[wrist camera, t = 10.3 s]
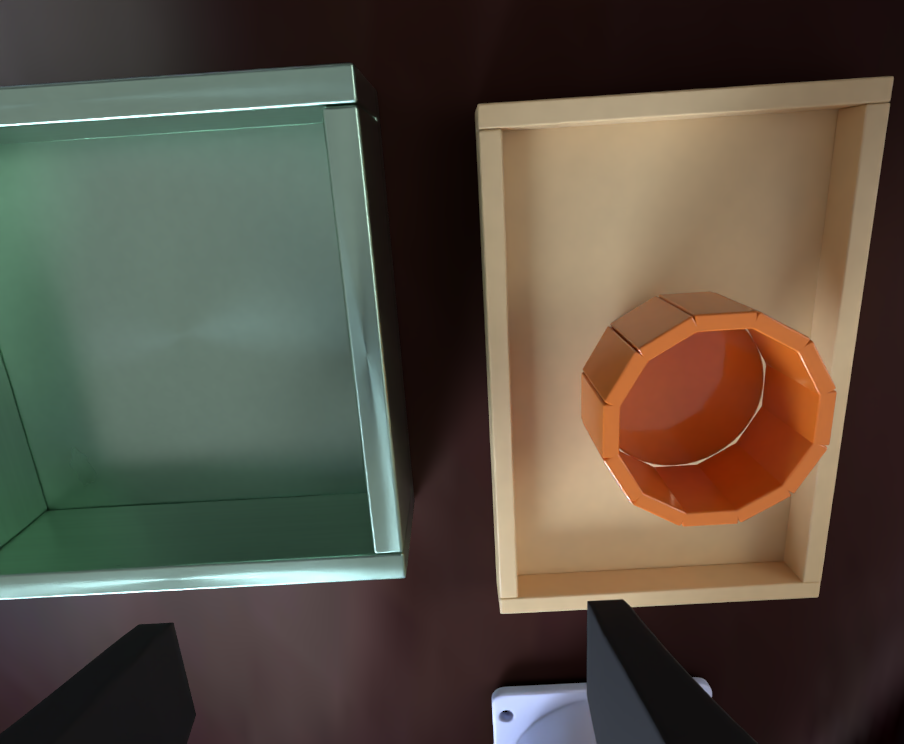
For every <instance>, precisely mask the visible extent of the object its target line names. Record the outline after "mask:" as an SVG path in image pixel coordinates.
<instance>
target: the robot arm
mask: <svg viewBox="0 0 904 744" xmlns="http://www.w3.org/2000/svg"><path fill="white" fill-rule="evenodd" d="M505 710H508V711H509V712H502V711H505ZM492 715H493V733H494V744H758V743H757V742H756V741H755V740H754V739H753V738H752V737H751V736H750V735H749V734H748V733H747V732H746V731H745V730H744V729H743V728H742V727H741V726H739V725H738V724H737V723H736V722H735V721H734V720H733V719H732V718H731V717H730V716H729V715H728V714H727V713H726V712H725V711H724V710H723V709H722V708H721V707H720V706H719V705H718V704H717V703H716V702H715V701H714V700H713V699H712V690H711V688H710V686H709V684H708V682H707V681H706V680H705V679H703V678H699V677H692V676H691V675H690V674H689V673H688V672H687V671H686V670H685V669H684V668H683V667H682V666H681V665H680V664H679V662H678V661H677V660H676V659H675V658H674V657H673V656H672V655H671V653H670V652H669V651H668V650H667V649H666V648H665V647H664V646H663V644H662V643H661V642H660V641H659V640H658V639H657V637H656V636H655V635H654V634H653V633H652V632H651V630H650V629H649V628H648V627H647V626H646V625H645V623H644V622H643V621H642V620H641V619H640V617H639V616H638V615H637V614H636V612H635V611H634V610H633V609H632V608H631V606H630V605H629V604H628V603H627V602H626V601H624V600H623V599H617V600H597V601H587V683H569V684H549V685H529V686H509V687H501V688H498V689H497V690H495V691H494V693H493V694H492ZM195 716H196V713H195V709H194V705H193V701H192V697H191V693H190V689H189V684H188V680H187V676H186V672H185V668H184V664H183V660H182V656H181V652H180V648H179V644H178V640H177V635H176V631H175V627H174V623H159V624H140V625H138V626H136V627H135V628H134V629H132V630H131V631H130V632H128V633H127V634H125V635H124V636H123V637H122V638H120V639H119V640H118V641H116V642H115V643H114V644H113V645H111V646H110V647H109V648H108V649H106V650H105V651H104V652H103V653H101V654H100V655H99V656H98V657H96V658H95V659H94V660H93V661H91V662H90V663H89V664H88V665H86V666H85V667H84V668H83V669H81V670H80V671H79V672H78V673H77V674H75V675H74V676H73V677H72V678H70V679H69V680H68V681H67V682H65V683H64V684H63V685H62V686H60V687H59V688H58V689H57V690H55V691H54V692H53V693H52V694H50V695H49V696H48V697H47V698H45V699H44V700H43V701H42V702H40V703H39V704H38V705H37V706H35V707H34V708H33V709H32V710H30V711H29V712H28V713H27V714H25V715H24V716H23V717H22V718H20V719H19V720H18V721H17V722H15V723H14V724H13V725H11V726H10V727H9V728H7V729H6V730H5V731H3V732H2V733H1V734H0V744H187V741H188V738H189V735H190V732H191V729H192V725H193V722H194V719H195Z"/></svg>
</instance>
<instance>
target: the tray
mask: <svg viewBox="0 0 904 744" xmlns="http://www.w3.org/2000/svg"><path fill="white" fill-rule="evenodd" d="M893 80H894V77H893V76H881V77H867V78H852V79H837V80H822V81H807V82H793V83H778V84H763V85H748V86H733V87H719V88H704V89H689V90H674V91H660V92H645V93H630V94H615V95H600V96H586V97H571V98H556V99H541V100H526V101H512V102H497V103H482V104H478V105H477V108H476V111H475V129H476V150H477V172H478V193H479V214H480V236H481V257H482V278H483V300H484V321H485V342H486V363H487V385H488V406H489V427H490V449H491V470H492V491H493V513H494V534H495V555H496V577H497V588H498V597H499V606H500V612H501V614H509V613H528V612H547V611H566V610H585V609H587V601H597V600H617V599H623V600H624V601H626V602H627V603H628V604H629V605H630V606H631V607H643V606H662V605H681V604H700V603H719V602H739V601H758V600H777V599H796V598H815V597H818V596H819V590H820V581H821V577H822V570H823V563H824V556H825V549H826V542H827V535H828V529H829V522H830V515H831V508H832V501H833V494H834V487H835V480H836V474H837V467H838V460H839V453H840V446H841V439H842V432H843V425H844V419H845V412H846V405H847V398H848V391H849V384H850V377H851V370H852V364H853V357H854V350H855V343H856V336H857V329H858V322H859V315H860V309H861V302H862V295H863V288H864V281H865V274H866V267H867V260H868V253H869V247H870V240H871V233H872V226H873V219H874V212H875V205H876V198H877V192H878V185H879V178H880V171H881V164H882V157H883V150H884V143H885V137H886V130H887V123H888V116H889V109H890V103H888V102H889V101H890V100H891V94H892V87H893ZM708 291H710V292H713V293H714V292H715V293H718V294H720V295H723V296H725V297H727V298H730V299H732V300H734V301H737V302H739V303H741V304H744V305H746V306H748V307H751V308H753V309H756V310H758V311H760V312H762V313H764V314H766V315H768V316H770V317H772V318H774V319H776V320H777V321H779V322H781V323H783V324H785V325H787V326H789V327H791V328H793V329H794V330H796V331H798V332H800V333H802V334H804V335H806V336H808V337H809V338H810V340H812V341H813V342H814V344H815V346H816V348H817V350H818V352H819V354H820V356H821V358H822V360H823V362H824V364H825V366H826V368H827V370H828V372H829V374H830V376H831V378H832V380H833V382H834V384H835V386H836V389H835V391H836V392H837V394H836V402H835V409H834V416H833V423H832V430H831V438H830V444H829V445H825V446H826V447H827V448H828V449H827V450H826V452H825V453H824V454H823V456H822V457H821V458H820V460H819V461H818V462H817V464H816V465H815V466H814V468H813V469H812V470H811V472H810V473H809V474H808V476H807V477H806V478H805V480H804V481H803V482H802V484H801V485H800V486H799V488H798V489H797V490H796V492H795V493H791V492H790V494H791V496H790V497H788V498H787V499H785V500H783V501H781V502H779V503H777V504H775V505H773V506H772V507H770V508H768V509H766V510H764V511H762V512H760V513H758V514H756V515H755V516H753V517H751V518H749V519H747V520H745V521H743V522H739V521H738V523H737V524H723V525H705V526H687V527H684V526H682V525H680V526H678V525H676V524H674V523H672V522H669V521H667V520H665V519H663V518H661V517H659V516H656V515H654V514H652V513H650V512H648V511H646V510H643V509H641V508H639V507H637V506H635V505H633V504H632V502H630V501H629V500H628V499H627V497H626V495H625V494H624V492H623V491H622V489H621V488H620V486H619V485H618V483H617V482H616V480H615V478H614V477H613V475H612V474H611V472H610V471H609V469H608V468H607V466H606V465H605V463H604V461H603V460H602V458H601V456H600V454H599V452H598V450H597V448H596V447H595V445H594V443H593V441H592V439H591V437H590V436H589V434H588V432H587V430H586V428H585V426H584V424H583V422H582V421H583V420H582V419H581V374H582V372H584V371H583V367H584V366H585V364H586V362H587V361H588V359H589V357H590V356H591V354H592V352H593V350H594V349H595V347H596V345H597V344H598V342H599V340H600V339H601V337H602V335H603V333H604V332H605V330H606V328H607V327H608V326H610V327H611V323H612V322H614V321H615V320H617V319H619V318H620V317H622V316H623V315H625V314H627V313H628V312H630V311H632V310H633V309H635V308H636V307H638V306H640V305H641V304H643V303H645V302H646V301H648V300H649V299H651V298H653V297H654V296H657V297H658V296H659V295H660V294H676V293H692V292H708ZM746 330H747V332H748V333H749V331H748V329H746ZM749 334H750V333H749ZM750 335H751V334H750ZM751 337H752V336H751ZM759 352H760V351H759ZM760 355H761V353H760ZM761 359H762V363H763V371H764V379H765V369H766V363H765V361H764V359H763V357H762V355H761ZM763 389H764V384H763ZM762 399H763V390H762V396H761V399H760V402H759V405H758V407H757V410H756V412H755V414H754V416H755V415H756V414H757V412H758V411H759V409H760V408H761V406H762ZM754 416H753V418H754ZM753 418H752V419H753ZM752 419H751V421H752ZM751 421H750V422H751ZM750 422H749V424H750ZM749 424H748V425H749ZM748 425H747V426H748ZM746 428H747V427H746ZM746 428H745V429H746ZM745 429H744V430H743V432H744V431H745ZM743 432H742V433H741V434H740V435H739V436H738V437H737V438H736V439H735V440H734V441H733V442H731V443H730V444H729V445H728V446H726V447H725V448H724V449H726V448H728V447H729V446H731V445H733V444H735V443H736V442H737V441H738V439H739V438H740V437H741V435H742V434H743ZM724 449H722V450H724ZM722 450H720V451H722ZM619 451H621V452H623V451H622V450H620V449H619ZM720 451H719V452H720ZM719 452H717V453H719ZM623 453H624V452H623ZM717 453H716V454H717ZM625 454H626V453H625ZM627 455H628V454H627ZM714 455H715V454H714ZM711 456H713V455H711ZM711 456H709V457H707V458H705V459H702V460H699V461H697V462H693V463H688V464H683V465H697V464H699V463H701V462H702V461H704V460H706V459H708V458H710V457H711ZM642 462H643V461H642ZM644 463H646V464H649V465H651V466H653V467H663V466H680V465H657V464H651V463H647V462H644Z"/></svg>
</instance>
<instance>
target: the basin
mask: <svg viewBox="0 0 904 744" xmlns="http://www.w3.org/2000/svg"><path fill="white" fill-rule="evenodd" d="M414 502H415V500H414V489H413V478H412V467H411V456H410V445H409V434H408V423H407V412H406V401H405V390H404V379H403V368H402V358H401V347H400V336H399V325H398V314H397V303H396V292H395V281H394V270H393V259H392V248H391V237H390V226H389V215H388V204H387V193H386V182H385V171H384V160H383V149H382V139H381V128H380V117H379V106H378V95H377V91H376V89H375V88H374V87H373V86H372V85H371V84H370V83H369V81H368V80H367V79H366V78H365V77H364V75H363V74H362V73H361V72H360V71H359V69H358V68H357V67H356V66H355V65H354V64H353V63H351V62H346V63H331V64H317V65H303V66H288V67H274V68H259V69H245V70H230V71H216V72H201V73H187V74H172V75H158V76H143V77H129V78H115V79H100V80H86V81H71V82H57V83H42V84H28V85H13V86H0V600H6V599H25V598H44V597H62V596H81V595H100V594H118V593H137V592H156V591H175V590H193V589H212V588H231V587H250V586H268V585H287V584H306V583H324V582H343V581H362V580H381V579H399V578H405V577H406V571H407V563H408V554H409V545H410V537H411V528H412V519H413V511H414V510H413V509H414Z"/></svg>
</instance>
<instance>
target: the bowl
mask: <svg viewBox="0 0 904 744" xmlns="http://www.w3.org/2000/svg"><path fill="white" fill-rule="evenodd" d="M746 329H748V331H749V333H750V334H751V335H750V334H749V333H748V332H747V330H746ZM751 336H752V337H751ZM759 351H760V352H759ZM760 353H761V355H762V357H763V359H764V361H765V363H766V369H765V379H764V371H763V363H762V359H761V355H760ZM583 371H584V372H582V374H581V419H582V420H583V421H582V422H583V424H584V426H585V428H586V430H587V432H588V434H589V436H590V437H591V439H592V441H593V443H594V445H595V447H596V448H597V450H598V452H599V454H600V456H601V458H602V460H603V461H604V463H605V465H606V466H607V468H608V469H609V471H610V472H611V474H612V475H613V477H614V478H615V480H616V482H617V483H618V485H619V486H620V488H621V489H622V491H623V492H624V494H625V495H626V497H627V499H628V500H629V501H630V502H632V504H633V505H635V506H637V507H639V508H641V509H643V510H646V511H648V512H650V513H652V514H654V515H656V516H659V517H661V518H663V519H665V520H667V521H669V522H672V523H674V524H676V525H678V526H680V525H682V526H684V527H687V526H705V525H723V524H737V523H738V521H739V522H743V521H745V520H747V519H749V518H751V517H753V516H755V515H756V514H758V513H760V512H762V511H764V510H766V509H768V508H770V507H772V506H773V505H775V504H777V503H779V502H781V501H783V500H785V499H787V498H788V497H790V496H791V494H790V492H791V493H795V492H796V490H797V489H798V488H799V486H800V485H801V484H802V482H803V481H804V480H805V478H806V477H807V476H808V474H809V473H810V472H811V470H812V469H813V468H814V466H815V465H816V464H817V462H818V461H819V460H820V458H821V457H822V456H823V454H824V453H825V452H826V450H827V449H828V448H827V447H826V446H825V445H829V444H830V438H831V430H832V423H833V416H834V409H835V402H836V394H837V392H836V391H835V389H836V386H835V384H834V382H833V380H832V378H831V376H830V374H829V372H828V370H827V368H826V366H825V364H824V362H823V360H822V358H821V356H820V354H819V352H818V350H817V348H816V346H815V344H814V342H813V341H812V340H810V338H809V337H808V336H806V335H804V334H802V333H800V332H798V331H796V330H794V329H793V328H791V327H789V326H787V325H785V324H783V323H781V322H779V321H777V320H776V319H774V318H772V317H770V316H768V315H766V314H764V313H762V312H760V311H758V310H756V309H753V308H751V307H748V306H746V305H744V304H741V303H739V302H737V301H734V300H732V299H730V298H727V297H725V296H723V295H720V294H718V293H715V292H714V293H713V292H710V291H708V292H692V293H676V294H660V295H659V296H658V297H657V296H654V297H653V298H651V299H649V300H648V301H646V302H645V303H643V304H641V305H640V306H638V307H636V308H635V309H633V310H632V311H630V312H628V313H627V314H625V315H623V316H622V317H620V318H619V319H617V320H615V321H614V322H612V323H611V327H610V326H608V327H607V328H606V330H605V332H604V333H603V335H602V337H601V339H600V340H599V342H598V344H597V345H596V347H595V349H594V350H593V352H592V354H591V356H590V357H589V359H588V361H587V362H586V364H585V366H584V367H583ZM763 384H764V389H763ZM762 390H763V399H762V406H761V408H760V409H759V411H758V412H757V414H756V415H755V416H754V414H755V412H756V410H757V407H758V405H759V402H760V399H761V396H762ZM753 416H754V418H753ZM752 418H753V419H752ZM751 419H752V421H751ZM750 421H751V422H750ZM749 422H750V424H749ZM748 424H749V425H748ZM747 425H748V426H747ZM746 427H747V428H746ZM745 428H746V429H745ZM744 429H745V431H744V432H743V430H744ZM742 432H743V434H742V435H741V437H740V438H739V439H738V441H737V442H736V443H735V444H733V445H731V446H729V447H728V448H726V449H724V448H725V447H726V446H728V445H729V444H730V443H731V442H733V441H734V440H735V439H736V438H737V437H738V436H739V435H740V434H741V433H742ZM619 449H620V450H622V451H623V452H624V453H623V452H621V451H619ZM722 449H724V450H722ZM720 450H722V451H720ZM719 451H720V452H719ZM717 452H719V453H717ZM625 453H626V454H625ZM716 453H717V454H716ZM627 454H628V455H627ZM714 454H715V455H714ZM711 455H713V456H711ZM709 456H711V457H710V458H708V459H706V460H704V461H702V462H701V463H699V464H697V465H683V464H688V463H693V462H697V461H699V460H702V459H705V458H707V457H709ZM642 461H643V462H642ZM644 462H647V463H651V464H657V465H680V466H663V467H653V466H651V465H649V464H646V463H644Z"/></svg>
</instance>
